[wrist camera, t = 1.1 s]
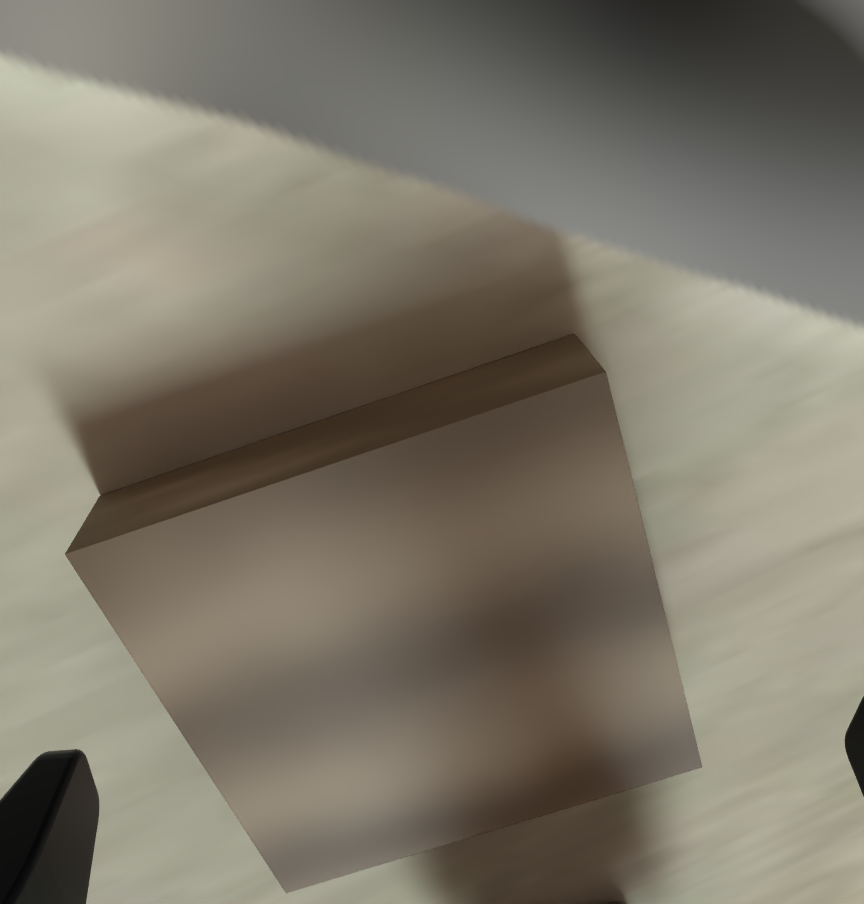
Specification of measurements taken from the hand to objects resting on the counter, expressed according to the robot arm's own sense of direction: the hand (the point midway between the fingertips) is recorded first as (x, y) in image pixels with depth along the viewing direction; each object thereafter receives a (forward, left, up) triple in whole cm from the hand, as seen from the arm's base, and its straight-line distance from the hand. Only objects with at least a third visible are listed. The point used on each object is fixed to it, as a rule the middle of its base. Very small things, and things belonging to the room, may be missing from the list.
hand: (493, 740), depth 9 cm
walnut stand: (-8, +3, -14) cm, 16 cm away
